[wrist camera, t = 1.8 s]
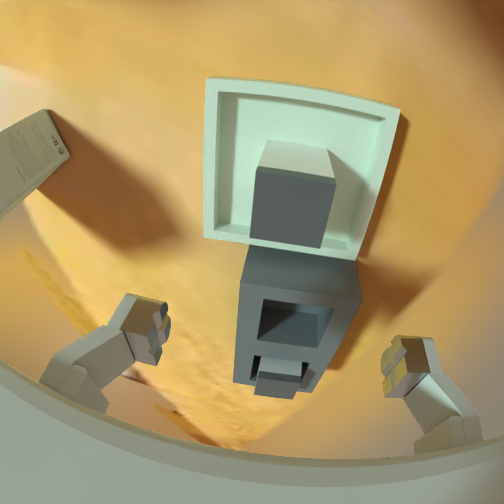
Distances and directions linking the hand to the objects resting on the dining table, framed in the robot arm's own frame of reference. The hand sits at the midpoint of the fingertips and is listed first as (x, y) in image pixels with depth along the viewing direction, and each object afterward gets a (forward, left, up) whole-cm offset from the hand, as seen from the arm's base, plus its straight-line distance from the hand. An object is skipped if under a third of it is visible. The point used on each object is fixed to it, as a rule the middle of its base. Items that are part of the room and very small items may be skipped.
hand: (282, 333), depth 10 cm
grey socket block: (+14, +2, -14) cm, 20 cm away
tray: (-1, 0, -14) cm, 14 cm away
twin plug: (+19, +2, -13) cm, 23 cm away
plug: (-1, 0, -13) cm, 13 cm away
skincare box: (0, -24, -14) cm, 28 cm away
